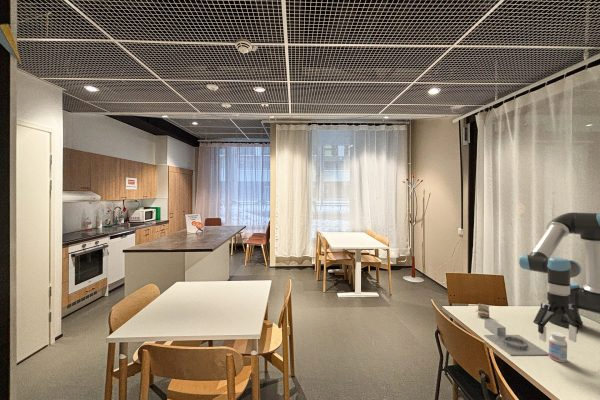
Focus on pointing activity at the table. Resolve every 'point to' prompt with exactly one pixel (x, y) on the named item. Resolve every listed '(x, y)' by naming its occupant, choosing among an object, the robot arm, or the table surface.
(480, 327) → the table surface
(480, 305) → the architectural model
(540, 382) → the table surface
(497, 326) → the duct collar
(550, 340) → the pill bottle
